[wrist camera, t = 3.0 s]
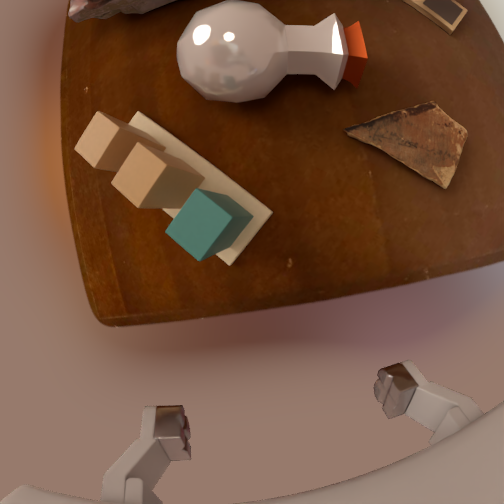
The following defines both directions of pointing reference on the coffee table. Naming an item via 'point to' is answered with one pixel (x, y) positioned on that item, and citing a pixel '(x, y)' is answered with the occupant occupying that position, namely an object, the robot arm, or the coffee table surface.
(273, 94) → the coffee table surface
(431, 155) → the shard
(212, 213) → the teal pillar
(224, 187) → the left word board
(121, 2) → the decorative box
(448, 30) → the right word board
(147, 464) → the robot arm
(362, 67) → the potion bottle
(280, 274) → the coffee table surface
